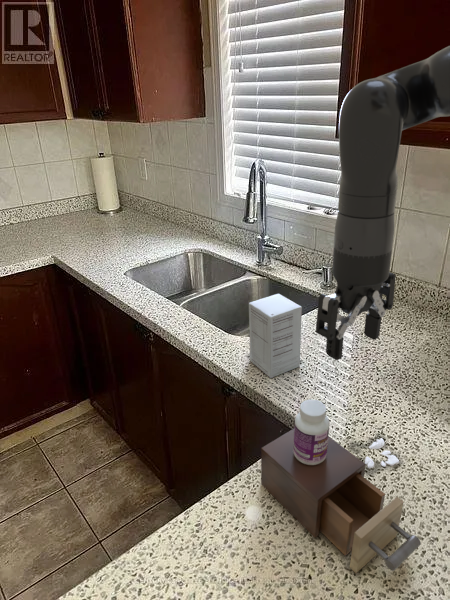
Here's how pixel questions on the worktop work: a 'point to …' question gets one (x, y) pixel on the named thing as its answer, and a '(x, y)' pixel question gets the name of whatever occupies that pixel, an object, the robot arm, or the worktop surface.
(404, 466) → the worktop surface
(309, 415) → the pill bottle
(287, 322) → the supplement box
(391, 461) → the white lumpy pieces
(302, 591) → the worktop surface
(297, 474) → the cabinet
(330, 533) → the drawer
